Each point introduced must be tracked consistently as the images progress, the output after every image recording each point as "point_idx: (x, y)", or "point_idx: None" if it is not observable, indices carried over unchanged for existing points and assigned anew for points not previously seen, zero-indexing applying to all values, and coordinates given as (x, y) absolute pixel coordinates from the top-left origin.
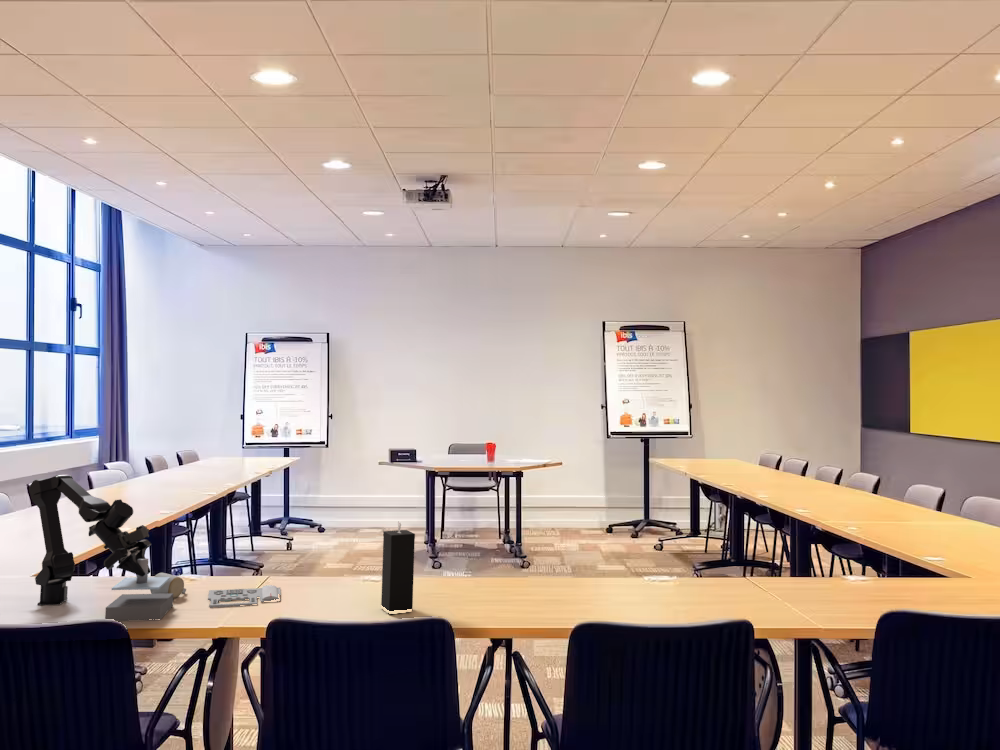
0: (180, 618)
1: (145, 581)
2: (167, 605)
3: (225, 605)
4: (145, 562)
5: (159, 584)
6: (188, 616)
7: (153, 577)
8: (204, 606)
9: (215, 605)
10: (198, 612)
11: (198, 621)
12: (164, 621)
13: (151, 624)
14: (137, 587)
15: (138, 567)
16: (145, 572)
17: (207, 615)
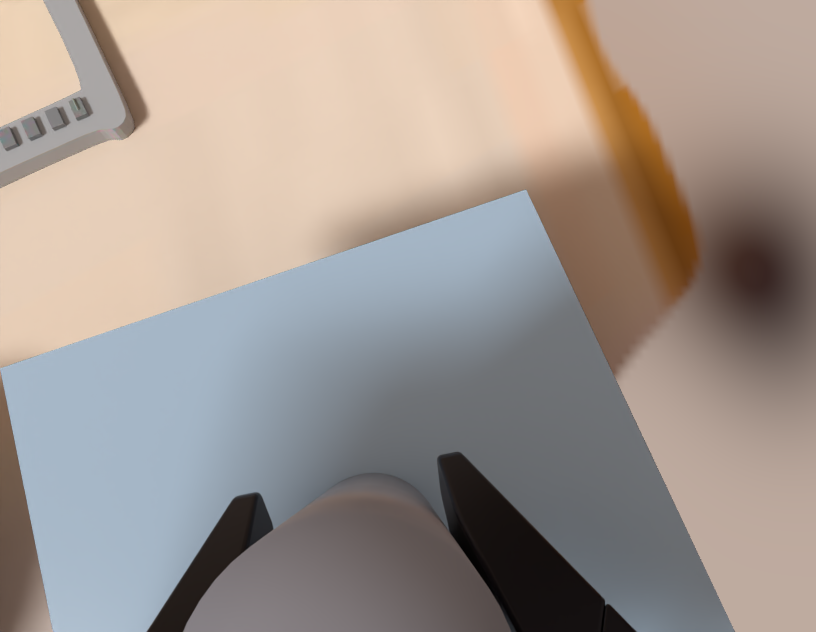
0: (410, 169)
1: (389, 475)
2: None
3: (95, 43)
4: (416, 519)
5: (411, 256)
6: (357, 148)
7: (63, 578)
8: (107, 176)
9: (116, 90)
10: (257, 139)
11: (436, 45)
12: None
13: (579, 261)
14: (627, 413)
15: (578, 576)
16: (397, 488)
17: (308, 58)
